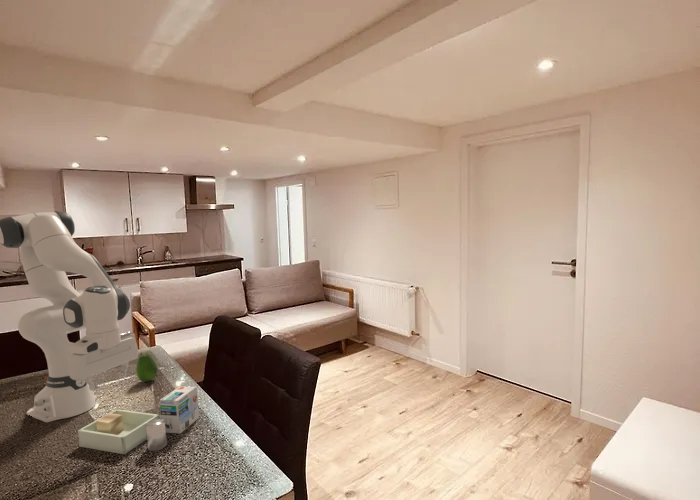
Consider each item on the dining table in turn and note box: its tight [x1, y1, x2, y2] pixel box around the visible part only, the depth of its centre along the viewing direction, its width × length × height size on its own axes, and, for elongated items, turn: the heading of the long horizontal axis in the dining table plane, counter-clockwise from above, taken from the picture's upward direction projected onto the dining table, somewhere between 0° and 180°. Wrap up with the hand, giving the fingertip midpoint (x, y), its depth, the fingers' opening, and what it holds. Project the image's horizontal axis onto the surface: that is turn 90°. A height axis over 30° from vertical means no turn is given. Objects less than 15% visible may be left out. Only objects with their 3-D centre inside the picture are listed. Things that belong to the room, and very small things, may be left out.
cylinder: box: [146, 418, 168, 452], centre depth 118 cm, size 5×5×7 cm
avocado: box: [135, 353, 159, 383], centre depth 168 cm, size 8×8×12 cm
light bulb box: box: [159, 385, 200, 434], centre depth 130 cm, size 11×7×11 cm, turn 168°
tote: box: [77, 408, 161, 455], centre depth 124 cm, size 18×14×5 cm
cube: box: [95, 412, 124, 435], centre depth 125 cm, size 5×5×5 cm
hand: (108, 383), depth 123 cm, fingers open, 8 cm apart
